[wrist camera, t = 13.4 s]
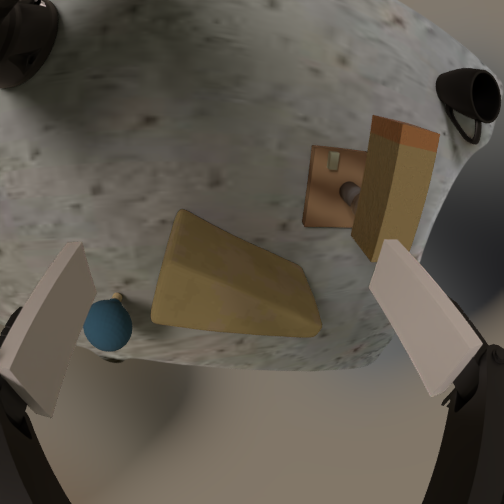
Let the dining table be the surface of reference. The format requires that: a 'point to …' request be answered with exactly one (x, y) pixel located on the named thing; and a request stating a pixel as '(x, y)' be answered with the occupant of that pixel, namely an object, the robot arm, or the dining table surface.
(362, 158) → the wooden base plate
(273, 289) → the cheese
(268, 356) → the dining table surface
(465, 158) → the dining table surface
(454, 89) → the mug
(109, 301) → the light bulb
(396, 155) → the two-tone wooden block
